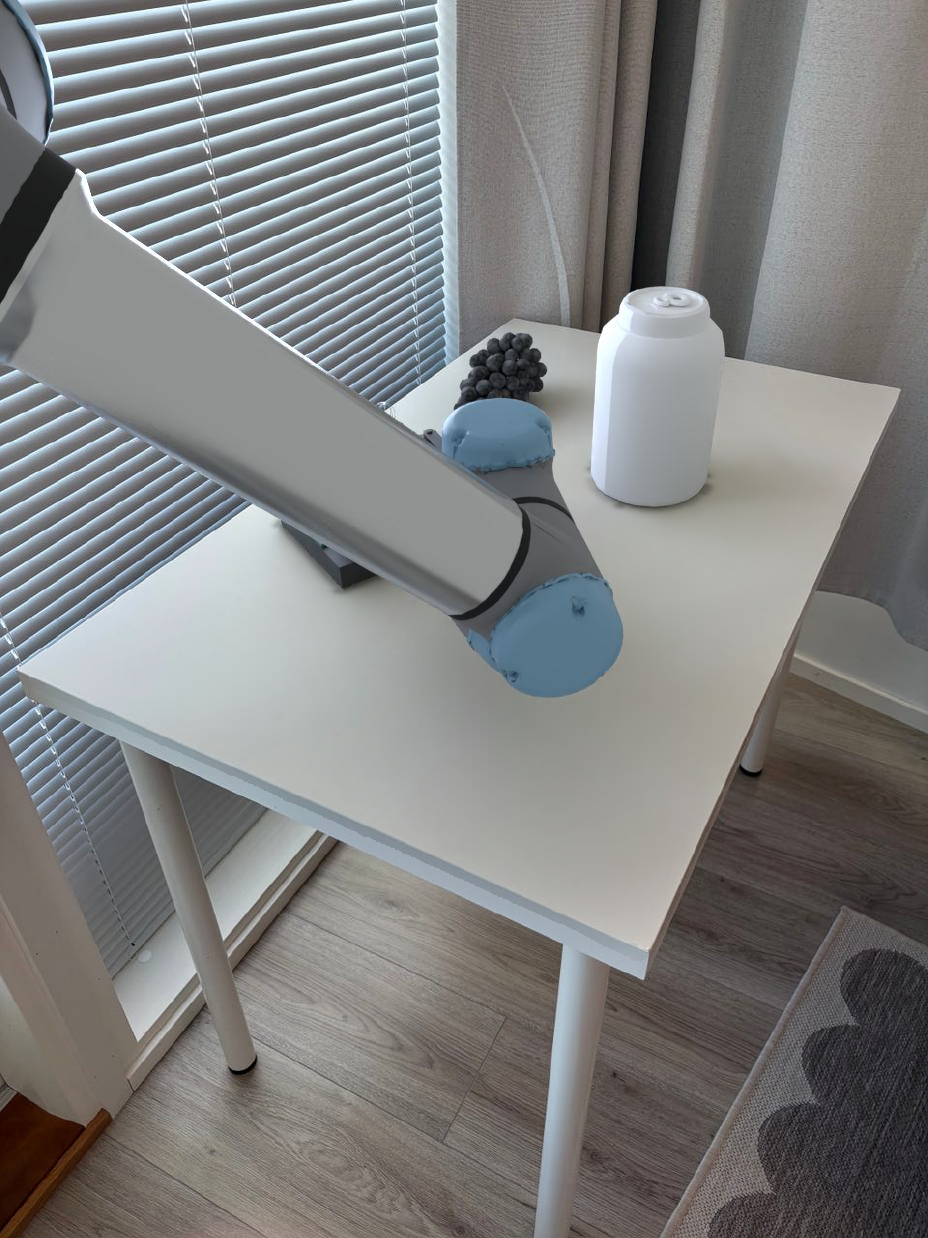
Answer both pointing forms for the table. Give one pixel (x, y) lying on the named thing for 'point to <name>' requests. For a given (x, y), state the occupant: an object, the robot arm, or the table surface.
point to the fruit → (504, 371)
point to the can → (656, 397)
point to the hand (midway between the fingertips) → (347, 424)
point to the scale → (332, 560)
